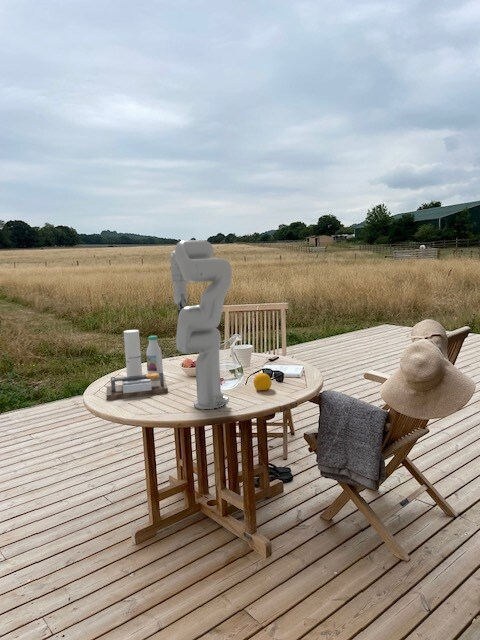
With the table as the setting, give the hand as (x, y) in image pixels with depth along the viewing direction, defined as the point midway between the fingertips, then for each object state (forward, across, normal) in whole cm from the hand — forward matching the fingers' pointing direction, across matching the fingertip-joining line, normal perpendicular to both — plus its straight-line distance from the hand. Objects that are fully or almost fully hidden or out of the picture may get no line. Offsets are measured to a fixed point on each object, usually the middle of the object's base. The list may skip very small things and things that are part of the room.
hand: (182, 318), depth 207 cm
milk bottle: (+31, -23, -12) cm, 41 cm away
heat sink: (+29, +3, -22) cm, 37 cm away
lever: (+25, +3, -23) cm, 34 cm away
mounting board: (+31, +3, -23) cm, 39 cm away
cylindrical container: (+31, -14, -23) cm, 41 cm away
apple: (+31, +22, +30) cm, 49 cm away
